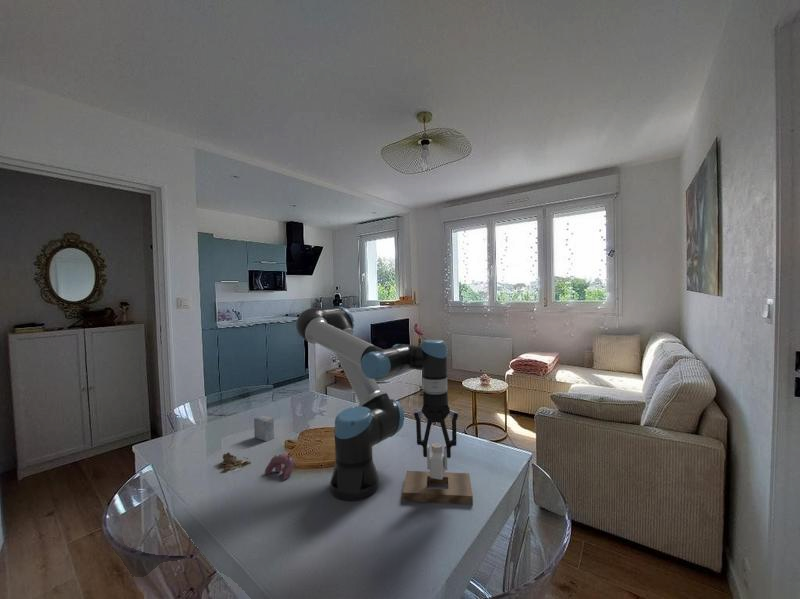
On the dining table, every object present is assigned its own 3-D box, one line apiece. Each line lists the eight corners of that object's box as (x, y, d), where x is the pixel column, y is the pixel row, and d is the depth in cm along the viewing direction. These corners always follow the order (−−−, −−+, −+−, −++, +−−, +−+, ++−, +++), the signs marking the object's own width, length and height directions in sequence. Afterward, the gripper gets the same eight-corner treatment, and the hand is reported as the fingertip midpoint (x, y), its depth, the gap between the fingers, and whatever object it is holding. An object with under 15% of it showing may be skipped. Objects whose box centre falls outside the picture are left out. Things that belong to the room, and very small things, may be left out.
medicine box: (274, 438, 141) (274, 418, 141) (265, 442, 137) (265, 421, 137) (263, 434, 145) (262, 414, 145) (254, 438, 141) (253, 418, 141)
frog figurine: (206, 470, 116) (206, 459, 116) (238, 455, 126) (238, 445, 126) (225, 478, 110) (225, 467, 110) (257, 462, 120) (256, 452, 120)
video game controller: (293, 480, 110) (299, 457, 113) (284, 480, 106) (291, 456, 109) (271, 474, 114) (278, 452, 117) (262, 474, 110) (269, 451, 113)
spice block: (402, 500, 95) (402, 492, 95) (407, 478, 107) (407, 470, 107) (472, 504, 92) (472, 496, 92) (469, 481, 104) (469, 473, 104)
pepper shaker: (429, 478, 98) (428, 447, 98) (432, 471, 102) (432, 441, 102) (442, 480, 97) (441, 448, 97) (445, 474, 100) (444, 443, 100)
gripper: (405, 394, 97) (407, 472, 97) (465, 395, 94) (467, 475, 94) (407, 387, 104) (409, 460, 104) (463, 387, 102) (465, 462, 102)
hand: (437, 467), depth 99 cm, fingers closed on pepper shaker, 4 cm apart
